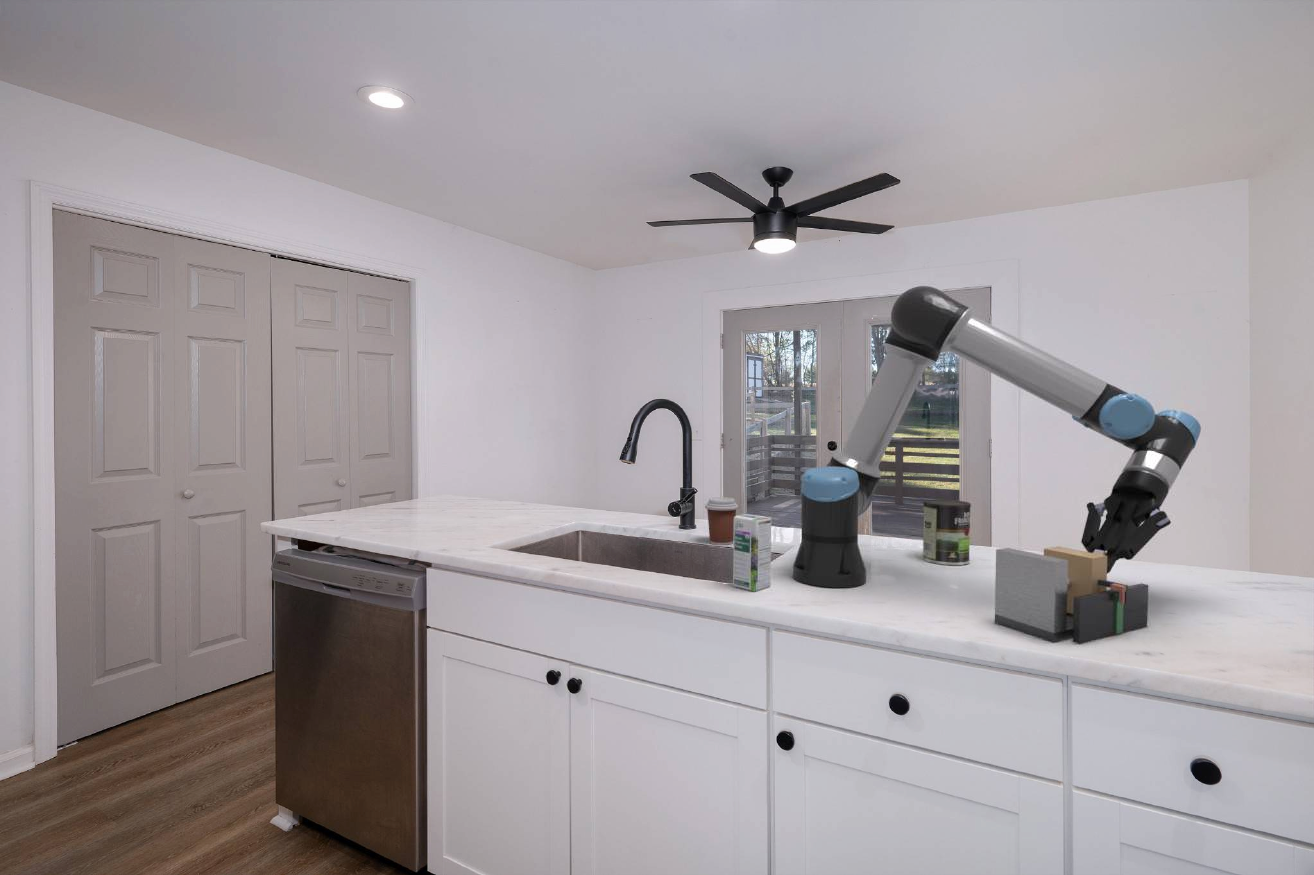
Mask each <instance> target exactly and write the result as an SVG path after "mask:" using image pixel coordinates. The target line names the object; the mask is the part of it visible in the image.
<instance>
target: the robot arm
mask: <svg viewBox="0 0 1314 875" xmlns="http://www.w3.org/2000/svg"><path fill="white" fill-rule="evenodd" d="M890 321H891V327H890V329H889V332H888V334H887V336H886V337H885V338H886V339H885V340H884V343H883V346H884V348H885V351H886V356H885V357H884V359H883V361H882V364H881V366H880V369H879V370H878V373H877V374H876V377H875V380H874V381H873V384H872V385H871V387H870V390H869V392H868V395H867V396H866V398H865V401H864V403H863V405H862V407H861V410H860V412H859V413H858V416H857V418H856V420H855V422H854V424H853V427H852V429H851V431H850V433H849V435H848V438H847V440H846V442H845V443H844V446H843V448H842V450H841V451H838V452H836V453H834V454H832V456H831V457H830V460H829V462H828V464H827V466H821V467H813V468H810V469H807V470H805V471H804V472H803V473H802V474H803V475H802V477H801V478H802V479H801V484H800V490H801V527H800V528H801V541H800V545H799V547H798V550H797V553H796V556H795V558H794V562H793V565H792V578H793V579H794V580H796V581H798V582H800V583H803V584H807V585H810V586H817V587H825V588H853V587H859V586H862V585H864V584H865V583H867V569H866V566H865V561H864V560H863V556H862V552H861V550H860V547H859V536H858V535H859V517H860V516H861V515H863V514H864V513H865V512H866V511H867V510H868V509H869V507H870V506H871V503H872V501H873V498H874V492H875V490H876V488H877V486H878V484H879V481H880V480H881V477H882V474H881V470H880V468H879V466H880V463H881V461H882V459H883V457H884V455H885V453H886V451H887V449H888V446H889V445H890V443H891V440H892V438H893V437H894V435H895V432H896V429H897V428H898V425H900V422H901V420H902V418H903V415H904V413H905V412H906V410H907V407H908V405H909V403H910V401H911V399H912V397H913V395H914V393H915V390H916V388H917V386H918V384H919V382H920V380H921V378H922V375H924V372H925V370H926V369H927V368H929V367H931V366H933V365H935V364H936V363H937V362H938V359H939V357H940V355H941V353H947V352H951V353H953V354H955V355H956V356H958V357H959V358H962V359H965V360H966V361H968V362H970V363H972V364H973V365H976V366H978V367H979V368H982V369H983V370H985V371H986V372H989V373H991V374H993V375H995V376H996V377H999V378H1000V379H1003V380H1004V381H1006V382H1007V383H1010V384H1012V385H1014V386H1016V387H1018V388H1020V389H1022V390H1023V391H1026V392H1028V393H1029V394H1031V395H1033V396H1035V397H1037V398H1039V399H1041V400H1043V401H1044V402H1046V403H1049V405H1052V406H1054V407H1056V408H1057V409H1061V410H1062V411H1064V412H1065V413H1068V414H1070V415H1071V418H1072V419H1073V421H1075V422H1077V423H1079V424H1081V425H1082V426H1083V427H1084V428H1088V429H1090V430H1092V431H1094V432H1096V433H1098V434H1100V435H1102V436H1104V437H1106V438H1108V439H1110V440H1112V441H1115V442H1117V443H1119V444H1121V445H1123V446H1124V447H1126V448H1129V449H1130V450H1133V452H1132V454H1131V456H1130V457H1129V459H1128V461H1127V462H1126V464H1125V465H1124V467H1123V468H1122V470H1121V471H1122V472H1121V473H1120V474H1119V475H1118V478H1117V479H1116V481H1115V483H1114V484H1113V486H1112V489H1111V493H1110V495H1109V496H1107V497H1106V498H1105V499H1104V500H1103V502H1100V503H1096V504H1095V503H1094V502H1088V503H1087V504H1086V508H1087V512H1088V513H1087V517H1086V521H1085V524H1084V528H1083V533H1082V537H1081V539H1080V540H1081V541H1080V542H1081V544H1082V546H1083V547H1084V549H1085V550H1086V552H1090V553H1095V554H1100V555H1105V556H1107V575H1108V574H1109V573H1111V570H1112V569H1113V567H1114V566H1115V564H1116V562H1117V561H1118V560H1120V559H1126V560H1127V561H1129V560H1132V559H1133V558H1134V557H1136V555H1137V554H1138V553H1139V552H1140V551H1141V550H1142V549H1143V548H1144V547H1145V546H1146V545H1147V544H1148V543H1149V542H1150V541H1151V540H1152V538H1154V536H1156V534H1157V533H1158V532H1160V530H1163V529H1165V528H1166V527H1168V526H1169V525H1171V523H1172V522H1171V519H1170V518H1169V516H1168V515H1167V513H1166V511H1164V510H1161V509H1160V508H1161V507H1162V505H1163V504H1164V502H1165V500H1166V498H1167V495H1168V494H1169V491H1170V490H1171V488H1172V487H1173V484H1174V483H1175V481H1176V479H1177V478H1178V476H1179V474H1180V471H1181V470H1182V468H1183V466H1184V465H1185V463H1186V461H1187V459H1188V457H1189V456H1190V455H1191V452H1192V451H1193V450H1194V449H1195V447H1196V445H1197V441H1198V440H1199V438H1200V434H1201V432H1202V427H1201V424H1200V422H1199V421H1198V419H1196V417H1194V416H1193V415H1191V414H1190V413H1187V412H1185V411H1177V410H1175V409H1166V410H1161V411H1159V412H1158V413H1156V411H1155V410H1154V407H1153V405H1152V404H1151V402H1149V401H1148V400H1147V399H1145V398H1144V397H1143V396H1140V395H1138V394H1134V393H1128V392H1127V391H1125V390H1122V389H1121V388H1118V387H1117V386H1114V385H1112V384H1109V383H1108V382H1106V381H1104V380H1102V379H1101V378H1099V377H1097V376H1095V375H1093V374H1091V373H1088V372H1087V371H1084V370H1082V369H1080V368H1079V367H1077V366H1074V365H1073V364H1070V363H1069V362H1067V361H1065V360H1064V359H1063V360H1062V359H1060V358H1059V357H1056V356H1054V355H1052V354H1050V353H1048V352H1046V351H1045V350H1042V349H1040V348H1038V347H1036V346H1034V345H1032V344H1031V343H1028V342H1026V341H1024V340H1022V339H1020V338H1019V337H1016V336H1014V335H1012V334H1010V333H1008V332H1006V331H1004V330H1002V329H1000V328H998V327H996V326H994V325H993V324H992V325H991V324H990V323H987V321H984V320H982V319H980V318H977V317H976V316H974V315H973V311H972V308H971V307H969V306H967V305H964V304H963V303H961V302H959V301H957V300H956V299H954V298H953V297H951V296H949V295H948V294H946V293H945V292H943V291H942V290H940V289H938V288H936V287H933V286H927V285H920V286H916V287H912V288H910V289H907V290H905V291H904V292H903V293H902V294H901V295H899V297H897V299H895V302H894V303H893V306H892V308H891V312H890ZM1105 511H1106V514H1105ZM1104 514H1105V520H1104V522H1103V523H1102V517H1104ZM1101 523H1102V525H1101Z"/></svg>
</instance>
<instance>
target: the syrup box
mask: <svg viewBox="0 0 1314 875" xmlns="http://www.w3.org/2000/svg"><path fill="white" fill-rule="evenodd" d="M732 557H733V558H732V559H733V562H732V564H733V565H732V568H733V569H732V570H733V571H732V573H733V574H732V587H734V588H739V589H743V590H747V591H751V592H753V593H754V592H758V591H761V590H764V589H766V588H770V587H771V584H772V583H771V582H772V581H771V580H772V579H771V574H772V573H771V572H772V571H771V569H772V567H771V566H772V558H771V557H772V516H762V515H755V514H751V513H749V514H747V513H745V514H738V515H736V516H735V517H734V541H733V555H732Z"/></svg>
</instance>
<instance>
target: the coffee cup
mask: <svg viewBox="0 0 1314 875" xmlns="http://www.w3.org/2000/svg"><path fill="white" fill-rule="evenodd" d="M739 508H740V507H739V505H738V504H737V502H736V500H735V499H734V498H733V497H732V498H731V497H727V496H726V497H723V496H722V497H721V496H720V497H718V496H717V497H710V498H709V499H708V502H707V503H706V504H704V509H706V511H707V522H708V534H709V544H711V545H716V546H729V545H730V546H731V545H734V517H735V516H737V510H739Z"/></svg>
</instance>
